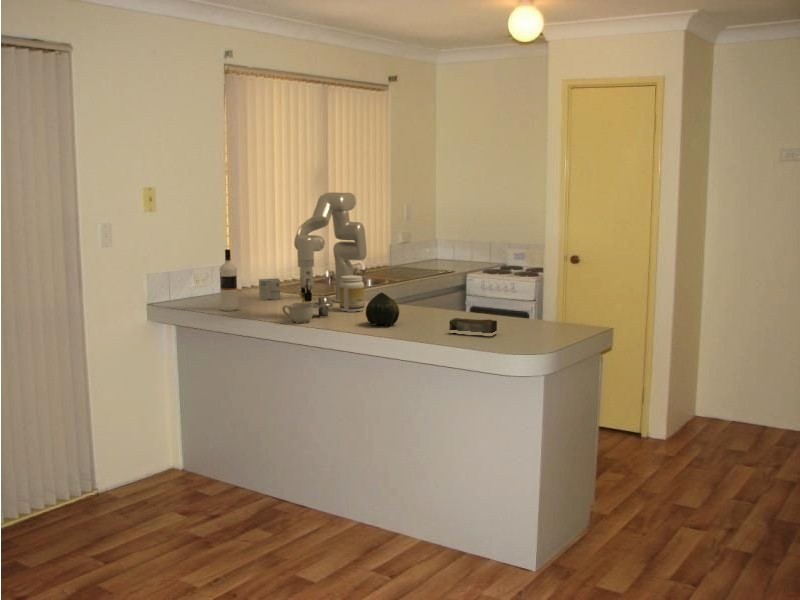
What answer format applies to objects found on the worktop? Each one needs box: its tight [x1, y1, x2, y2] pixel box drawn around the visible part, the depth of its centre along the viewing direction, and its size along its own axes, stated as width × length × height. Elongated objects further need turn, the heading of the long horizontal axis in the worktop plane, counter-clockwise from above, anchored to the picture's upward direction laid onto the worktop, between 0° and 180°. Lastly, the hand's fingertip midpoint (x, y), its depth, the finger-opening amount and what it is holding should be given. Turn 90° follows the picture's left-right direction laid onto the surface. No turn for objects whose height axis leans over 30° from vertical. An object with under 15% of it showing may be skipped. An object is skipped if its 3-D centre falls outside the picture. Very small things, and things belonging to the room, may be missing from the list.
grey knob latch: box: [310, 296, 334, 317], centre depth 377 cm, size 17×10×9 cm, turn 107°
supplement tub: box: [339, 274, 365, 313], centre depth 394 cm, size 12×12×17 cm
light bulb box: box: [258, 277, 281, 301], centre depth 428 cm, size 11×7×11 cm, turn 108°
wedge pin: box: [299, 291, 314, 304], centre depth 375 cm, size 5×3×12 cm, turn 111°
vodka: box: [219, 248, 240, 312], centre depth 393 cm, size 9×9×30 cm
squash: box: [365, 292, 400, 326], centre depth 358 cm, size 14×15×15 cm
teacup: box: [281, 302, 314, 324], centre depth 364 cm, size 14×11×8 cm
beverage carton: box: [448, 317, 498, 333], centre depth 338 cm, size 8×19×7 cm, turn 68°
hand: (306, 299), depth 375 cm, fingers open, 9 cm apart
